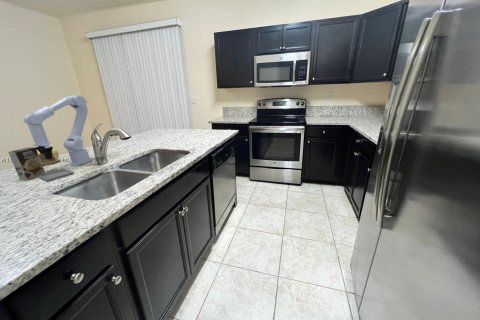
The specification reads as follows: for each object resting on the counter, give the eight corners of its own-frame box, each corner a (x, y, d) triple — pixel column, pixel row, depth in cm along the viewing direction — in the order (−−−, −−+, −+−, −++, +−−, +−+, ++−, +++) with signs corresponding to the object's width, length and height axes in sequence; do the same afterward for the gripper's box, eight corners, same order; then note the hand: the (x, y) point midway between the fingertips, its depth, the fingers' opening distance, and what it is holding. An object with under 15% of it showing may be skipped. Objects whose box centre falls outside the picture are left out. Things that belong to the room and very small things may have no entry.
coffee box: (28, 180, 110) (16, 152, 104) (19, 179, 111) (7, 151, 106) (46, 173, 118) (36, 147, 113) (38, 173, 119) (27, 147, 114)
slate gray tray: (65, 170, 122) (64, 168, 121) (74, 173, 116) (73, 171, 115) (39, 177, 112) (38, 175, 112) (47, 182, 106) (46, 179, 106)
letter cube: (52, 159, 122) (49, 151, 120) (55, 160, 119) (52, 152, 118) (41, 162, 118) (38, 153, 116) (44, 163, 115) (41, 155, 113)
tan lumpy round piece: (41, 167, 130) (35, 151, 126) (35, 164, 136) (29, 149, 132) (63, 161, 139) (58, 146, 135) (56, 159, 145) (51, 144, 141)
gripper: (25, 136, 114) (34, 158, 119) (34, 138, 107) (43, 162, 111) (41, 133, 120) (50, 155, 124) (51, 135, 112) (59, 158, 117)
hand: (48, 158), depth 118 cm, fingers closed on letter cube, 5 cm apart
